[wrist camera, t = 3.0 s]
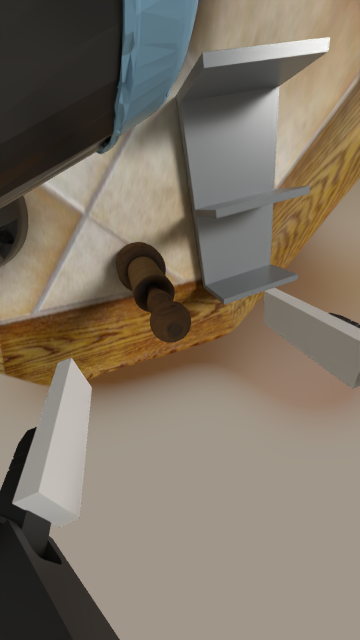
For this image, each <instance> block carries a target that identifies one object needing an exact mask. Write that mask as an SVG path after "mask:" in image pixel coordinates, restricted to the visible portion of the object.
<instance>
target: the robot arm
mask: <svg viewBox="0 0 360 640" xmlns="http://www.w3.org/2000/svg"><path fill="white" fill-rule="evenodd" d="M198 1H199V0H0V267H1V266H2V265H4V264H6V263H7V262H9V261H10V260H11V259H12V258H14V257H15V256H16V254H17V253H18V252H19V251H20V249H21V248H22V246H23V244H24V242H25V239H26V235H27V230H28V213H27V207H26V203H25V199H24V196H23V195H24V194H26V193H28V192H29V191H31V190H33V189H34V188H36V187H38V186H39V185H41V184H43V183H44V182H46V181H48V180H49V179H51V178H53V177H55V176H56V175H58V174H60V173H61V172H63V171H65V170H66V169H68V168H70V167H71V166H73V165H75V164H76V163H78V162H80V161H81V160H83V159H85V158H87V157H88V156H90V155H92V154H93V153H95V152H97V153H99V154H102V153H105V152H107V151H109V150H110V149H111V148H112V147H113V146H114V145H115V143H116V142H117V140H118V139H119V137H120V136H121V135H122V134H124V133H125V132H127V131H128V130H130V129H131V128H133V127H134V126H136V125H137V124H139V123H140V122H142V121H143V120H145V119H146V118H148V117H149V116H150V115H152V114H153V113H154V112H156V111H157V110H158V109H159V108H160V107H161V105H162V104H163V103H164V102H165V101H166V99H167V97H168V95H169V93H170V90H171V87H172V85H173V84H174V82H175V81H176V79H177V77H178V74H179V72H180V70H181V68H182V66H183V63H184V60H185V57H186V54H187V50H188V46H189V43H190V39H191V35H192V31H193V26H194V21H195V17H196V12H197V6H198ZM264 300H265V301H264V324H265V325H266V326H268V327H269V328H270V329H272V330H273V331H274V332H276V333H277V334H278V335H280V336H281V337H282V338H284V339H285V340H287V341H288V342H289V343H291V344H292V345H294V346H295V347H296V348H297V349H299V350H300V351H302V352H303V353H304V354H305V355H307V356H308V357H310V358H311V359H312V360H314V361H315V362H316V363H318V364H319V365H320V366H322V367H323V368H324V369H326V370H327V371H328V372H330V373H331V374H333V375H334V376H335V377H337V378H338V379H339V380H341V381H342V382H343V383H345V384H346V385H347V386H349V387H350V388H351V389H353V388H356V387H358V386H360V325H359V324H358V323H356V322H354V321H351V320H350V319H347V318H345V317H343V316H341V315H336V314H333V313H326V312H324V311H322V310H320V309H318V308H316V307H313V306H311V305H309V304H307V303H305V302H303V301H301V300H299V299H297V298H294V297H292V296H290V295H288V294H286V293H284V292H282V291H280V290H278V289H276V288H272V289H270V290H267V291H265V299H264ZM91 391H92V387H91V386H90V385H89V383H88V382H87V380H86V379H85V377H84V376H83V374H82V373H81V371H80V370H79V368H78V367H77V365H76V364H75V362H74V361H73V359H72V358H70V359H67V360H64V361H61V362H58V364H57V367H56V371H55V374H54V377H53V380H52V383H51V386H50V389H49V392H48V395H47V398H46V401H45V404H44V407H43V410H42V414H41V416H40V420H39V423H38V426H37V427H35V428H33V429H30V430H28V431H27V432H26V433H25V435H24V436H23V438H22V439H21V441H20V442H19V444H18V446H17V448H16V451H15V454H14V456H13V457H14V459H13V460H12V462H11V464H10V467H9V471H8V472H7V475H6V477H5V480H4V482H3V485H2V488H1V490H0V640H120V639H119V638H118V637H117V635H116V634H115V632H114V630H113V629H112V628H111V626H110V624H109V623H108V621H107V620H106V618H105V617H104V615H103V614H102V612H101V611H100V609H99V608H98V607H97V605H96V604H95V602H94V601H93V599H92V597H91V596H90V594H89V593H88V591H87V590H86V588H85V587H84V585H83V584H82V582H81V581H80V579H79V578H78V576H77V575H76V573H75V572H74V570H73V569H72V567H71V566H70V564H69V563H68V561H67V560H66V558H65V557H64V555H63V554H62V552H61V551H60V549H59V548H58V546H57V545H56V543H55V542H54V540H53V539H52V538H51V537H49V531H50V526H51V524H53V525H55V526H57V527H61V526H64V525H66V524H68V523H70V522H72V521H74V520H76V519H78V518H80V509H81V499H82V488H83V477H84V465H85V455H86V445H87V434H88V423H89V412H90V402H91Z"/></svg>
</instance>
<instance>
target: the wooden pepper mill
mask: <svg viewBox="0 0 360 640" xmlns="http://www.w3.org/2000/svg"><path fill="white" fill-rule="evenodd" d="M116 265H117V272H118V276H119V279H120V281H121V282H122V284H123V285H124V286H125V287H126V288H128V289H129V290H131V291H133V295H134V299H135V302H136V304H137V305H138V306H139V307H140V308H141V309H143V310H145V311H147V312H150V313H151V317H150V326H151V329H152V331H153V333H154V335H155V336H156V337H157V338H159V339H160V340H162V341H165V342H176V341H179V340H181V339H182V338H184V337H185V336H186V335H187V333H188V332H189V329H190V326H191V318H190V314H189V312H188V310H187V309H186V308H185V307H184V306H183V305H182V304H180V303H178V302H174V301H173V299H174V294H175V292H174V287H173V285H172V283H171V282H170V281H169V279H168V278H167V277H166V276H165V272H166V268H165V262H164V260H163V258H162V256H161V255H160V253H159V252H158V251H157V250H156V249H155V248H153V247H152V246H150V245H148V244H146V243H142V242H135V243H131V244H128V245H127V246H125V247H124V248H123V249H122V250H121V251H120V253H119V255H118V257H117V263H116Z"/></svg>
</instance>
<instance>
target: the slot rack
mask: <svg viewBox="0 0 360 640" xmlns="http://www.w3.org/2000/svg"><path fill="white" fill-rule="evenodd" d="M329 41H330V37H327V38H318V39H310V40H302V41H293V42H285V43H276V44H268V45H260V46H251V47H243V48H234V49H226V50H218V51H209V52H202V54H201V56H200V57H199V59H198V61H197V62H196V64H195V66H194V67H193V69H192V70H191V72H190V74H189V75H188V77H187V79H186V80H185V82H184V84H183V85H182V87H181V88H180V90H179V92H178V93H177V95H176V101H177V108H178V115H179V122H180V129H181V136H182V143H183V150H184V157H185V164H186V171H187V178H188V185H189V192H190V199H191V206H192V213H193V220H194V227H195V234H196V241H197V248H198V255H199V262H200V269H201V276H202V283H203V287H204V288H205V289H206V290H207V291H208V292H210V293H211V294H212V295H213V296H214V297H216V298H217V299H218V300H219V301H220V302H222V303H223V304H227V303H230V302H233V301H236V300H239V299H242V298H245V297H248V296H250V295H253V294H256V293H259V292H262V291H265V290H268V289H271V288H273V287H276V286H279V285H282V284H285V283H288V282H291V281H294V280H297V279H298V274H296V273H294V272H290V271H288V270H285V269H282V268H279V267H276V266H274V265H271V264H270V255H271V236H272V217H273V203H276V202H280V201H283V200H287V199H291V198H295V197H298V196H302V195H306V194H309V190H310V186H302V187H293V188H284V189H274V178H275V159H276V140H277V121H278V101H279V86H280V85H281V84H283V83H284V82H286V81H287V80H289V79H290V78H291V77H293V76H294V75H296V74H297V73H298V72H300V71H301V70H303V69H304V68H305V67H307V66H308V65H310V64H311V63H313V62H314V61H315V60H317V59H318V58H320V57H321V56H322V55H324V54H325V53H327V52H328V48H329Z"/></svg>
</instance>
